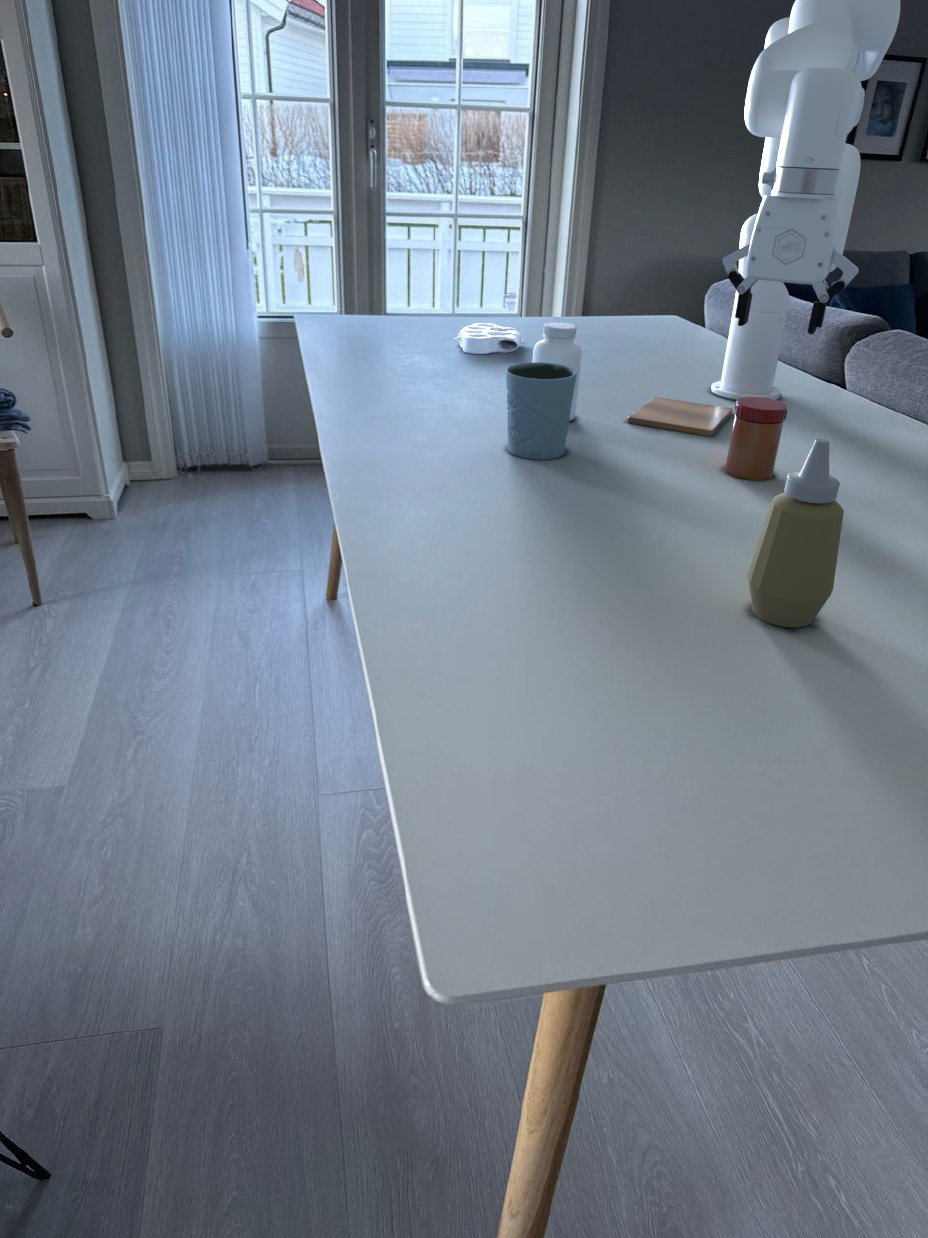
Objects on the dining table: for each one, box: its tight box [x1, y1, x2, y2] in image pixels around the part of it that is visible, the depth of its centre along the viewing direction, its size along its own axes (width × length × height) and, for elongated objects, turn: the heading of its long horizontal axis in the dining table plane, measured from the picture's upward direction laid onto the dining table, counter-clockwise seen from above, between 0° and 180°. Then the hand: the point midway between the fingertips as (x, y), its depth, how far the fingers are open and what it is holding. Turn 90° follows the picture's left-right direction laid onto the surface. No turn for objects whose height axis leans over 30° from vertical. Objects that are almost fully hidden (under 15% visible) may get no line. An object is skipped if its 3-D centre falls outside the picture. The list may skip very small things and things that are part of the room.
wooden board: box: [627, 396, 734, 437], centre depth 154 cm, size 16×14×1 cm
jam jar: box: [724, 414, 785, 481], centre depth 127 cm, size 7×7×10 cm
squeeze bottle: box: [746, 438, 845, 628], centre depth 86 cm, size 8×8×18 cm
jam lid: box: [733, 397, 788, 423], centre depth 125 cm, size 7×7×2 cm
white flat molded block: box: [453, 322, 524, 355], centre depth 201 cm, size 3×18×15 cm
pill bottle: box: [531, 321, 583, 422], centre depth 148 cm, size 8×8×15 cm
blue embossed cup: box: [505, 362, 577, 460], centre depth 132 cm, size 10×10×12 cm
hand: (776, 328), depth 120 cm, fingers open, 8 cm apart
